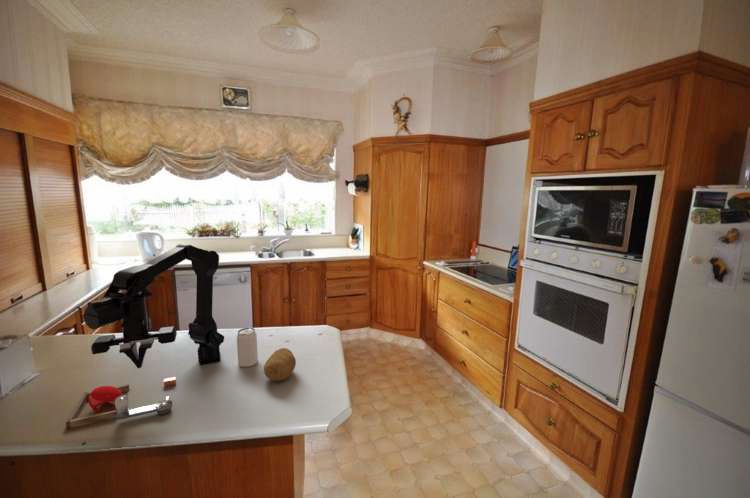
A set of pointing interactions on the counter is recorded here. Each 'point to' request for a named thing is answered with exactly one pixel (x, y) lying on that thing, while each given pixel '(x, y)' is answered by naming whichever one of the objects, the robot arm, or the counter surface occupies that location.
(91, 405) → the cap
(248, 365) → the can
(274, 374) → the potato
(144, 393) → the counter surface
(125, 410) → the crank
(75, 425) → the bay
